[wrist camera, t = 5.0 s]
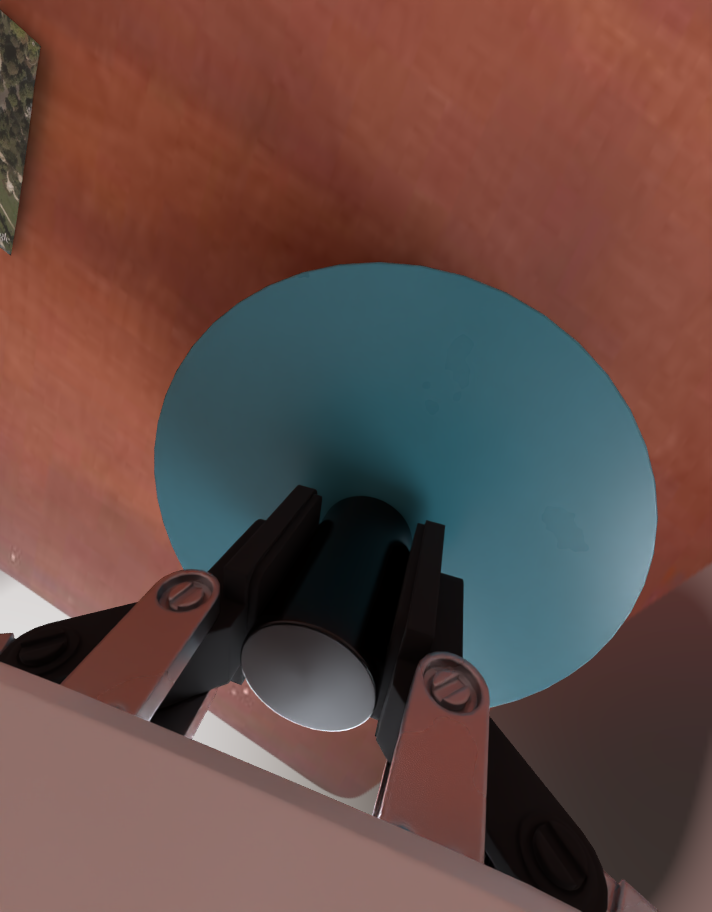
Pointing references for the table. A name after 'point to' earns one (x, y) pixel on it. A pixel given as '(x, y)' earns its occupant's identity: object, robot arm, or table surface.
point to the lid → (408, 478)
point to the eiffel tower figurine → (14, 118)
